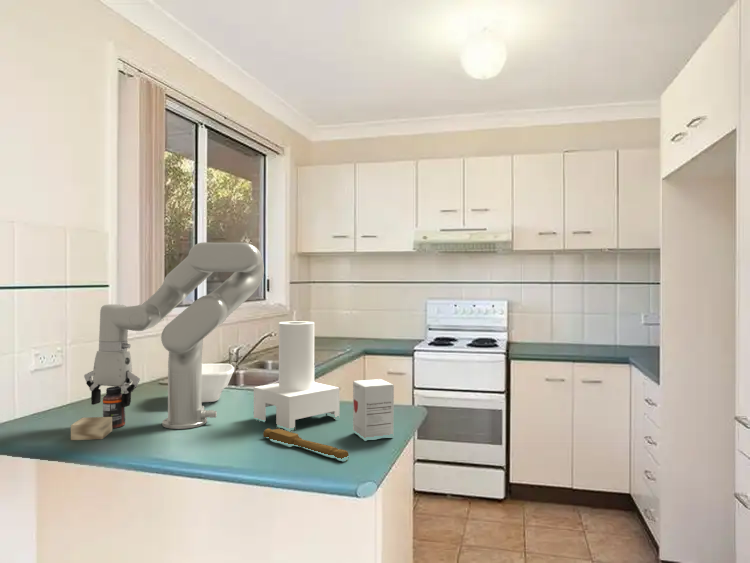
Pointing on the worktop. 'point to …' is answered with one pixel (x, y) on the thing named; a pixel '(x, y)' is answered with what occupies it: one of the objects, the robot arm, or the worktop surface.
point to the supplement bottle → (114, 406)
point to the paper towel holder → (296, 380)
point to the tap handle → (303, 442)
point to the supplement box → (373, 407)
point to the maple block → (91, 428)
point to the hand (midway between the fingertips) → (110, 405)
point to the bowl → (215, 380)
